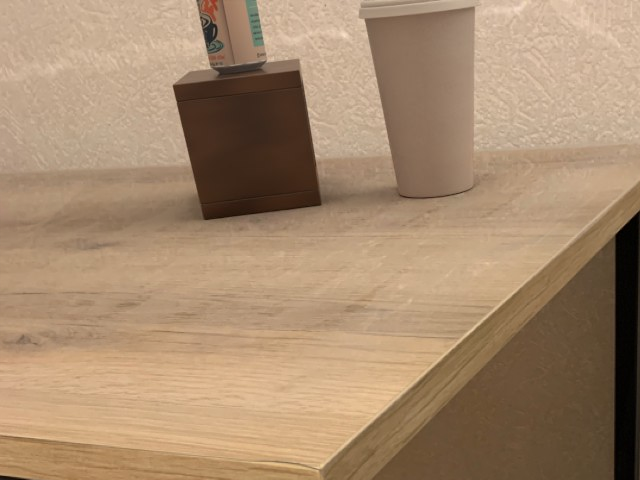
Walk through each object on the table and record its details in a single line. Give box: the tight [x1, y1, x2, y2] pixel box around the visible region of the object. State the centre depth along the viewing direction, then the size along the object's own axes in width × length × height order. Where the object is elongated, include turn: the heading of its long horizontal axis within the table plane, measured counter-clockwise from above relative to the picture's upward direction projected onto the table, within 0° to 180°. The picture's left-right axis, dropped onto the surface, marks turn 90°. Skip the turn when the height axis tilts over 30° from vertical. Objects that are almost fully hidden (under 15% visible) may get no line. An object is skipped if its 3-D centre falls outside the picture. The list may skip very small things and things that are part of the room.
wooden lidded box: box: [172, 58, 322, 220], centre depth 79 cm, size 10×13×10 cm
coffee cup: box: [358, 0, 481, 199], centre depth 73 cm, size 10×10×15 cm
